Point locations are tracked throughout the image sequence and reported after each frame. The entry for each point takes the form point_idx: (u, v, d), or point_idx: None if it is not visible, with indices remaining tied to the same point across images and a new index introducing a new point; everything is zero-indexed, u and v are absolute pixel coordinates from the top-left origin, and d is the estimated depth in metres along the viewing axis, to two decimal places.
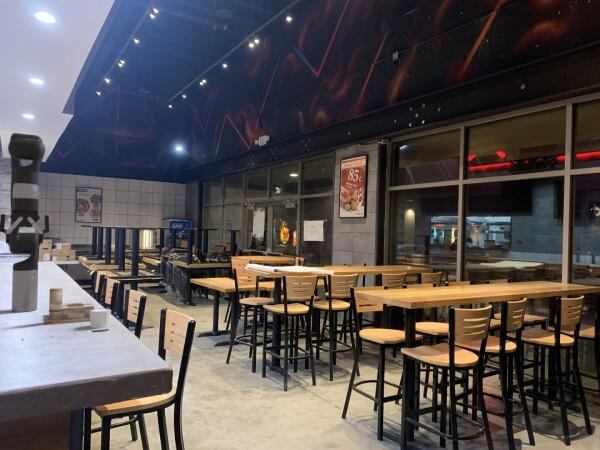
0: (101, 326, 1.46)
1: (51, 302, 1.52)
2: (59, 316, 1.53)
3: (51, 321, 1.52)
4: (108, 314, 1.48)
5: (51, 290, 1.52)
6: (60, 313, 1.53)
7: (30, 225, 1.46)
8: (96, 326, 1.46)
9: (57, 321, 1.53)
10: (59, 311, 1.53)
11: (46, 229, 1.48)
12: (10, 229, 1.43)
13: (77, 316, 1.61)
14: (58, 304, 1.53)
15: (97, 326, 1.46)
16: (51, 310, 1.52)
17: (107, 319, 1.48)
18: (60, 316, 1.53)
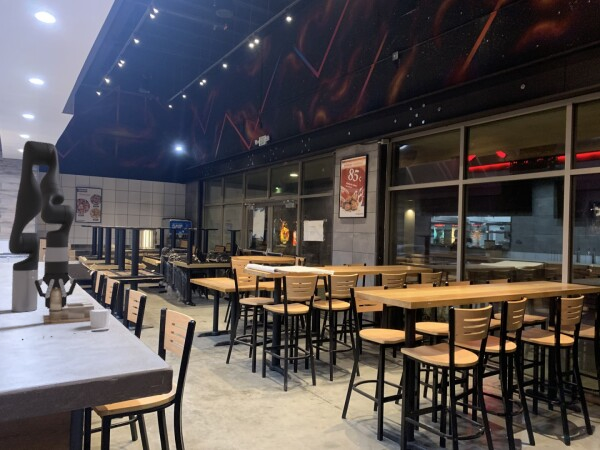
0: (101, 326, 1.46)
1: (51, 302, 1.52)
2: (59, 316, 1.53)
3: (51, 321, 1.52)
4: (108, 314, 1.48)
5: (51, 290, 1.52)
6: (60, 313, 1.53)
7: (58, 286, 1.53)
8: (96, 326, 1.46)
9: (57, 321, 1.53)
10: (59, 311, 1.53)
11: (69, 292, 1.55)
12: (48, 293, 1.52)
13: (77, 316, 1.61)
14: (58, 304, 1.53)
15: (97, 326, 1.46)
16: (51, 310, 1.52)
17: (107, 319, 1.48)
18: (60, 316, 1.53)
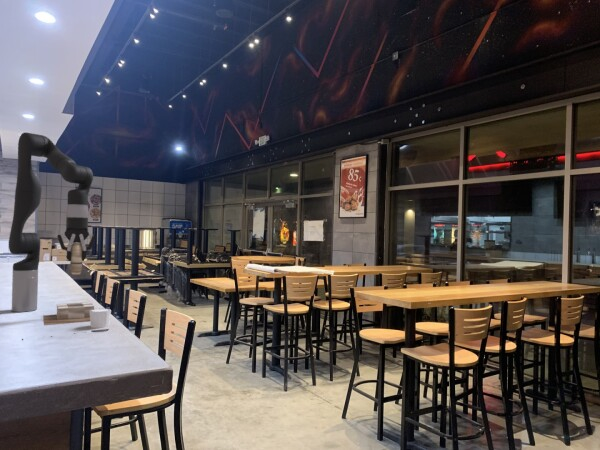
0: (101, 326, 1.46)
1: (72, 255, 1.64)
2: (79, 268, 1.65)
3: (72, 273, 1.65)
4: (108, 314, 1.48)
5: (72, 244, 1.65)
6: (80, 266, 1.66)
7: (79, 240, 1.66)
8: (96, 326, 1.46)
9: (78, 273, 1.65)
10: (80, 264, 1.65)
11: (89, 246, 1.68)
12: (69, 246, 1.64)
13: (77, 316, 1.61)
14: (79, 257, 1.65)
15: (97, 326, 1.46)
16: (72, 262, 1.64)
17: (107, 319, 1.48)
18: (80, 268, 1.66)
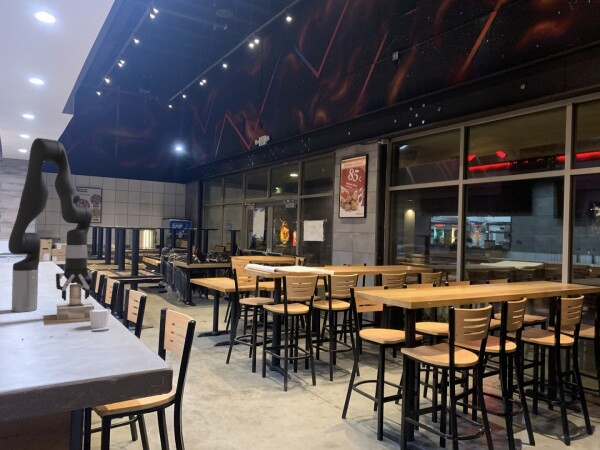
0: (101, 326, 1.46)
1: (71, 297, 1.64)
2: None
3: None
4: (108, 314, 1.48)
5: (71, 286, 1.64)
6: None
7: (79, 281, 1.66)
8: (96, 326, 1.46)
9: None
10: (78, 305, 1.65)
11: (92, 285, 1.68)
12: (65, 286, 1.63)
13: (77, 316, 1.61)
14: (78, 299, 1.65)
15: (97, 326, 1.46)
16: (71, 304, 1.64)
17: (107, 319, 1.48)
18: None
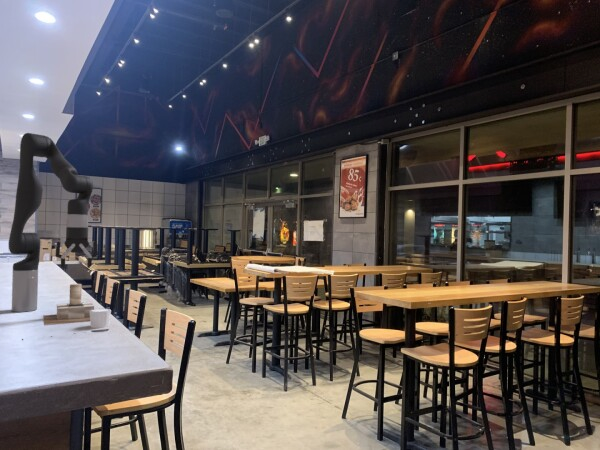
0: (101, 326, 1.46)
1: (71, 297, 1.64)
2: None
3: None
4: (108, 314, 1.48)
5: (71, 286, 1.64)
6: None
7: (81, 250, 1.66)
8: (96, 326, 1.46)
9: None
10: (78, 305, 1.65)
11: (94, 254, 1.69)
12: (64, 254, 1.63)
13: (77, 316, 1.61)
14: (78, 299, 1.65)
15: (97, 326, 1.46)
16: (71, 304, 1.64)
17: (107, 319, 1.48)
18: None
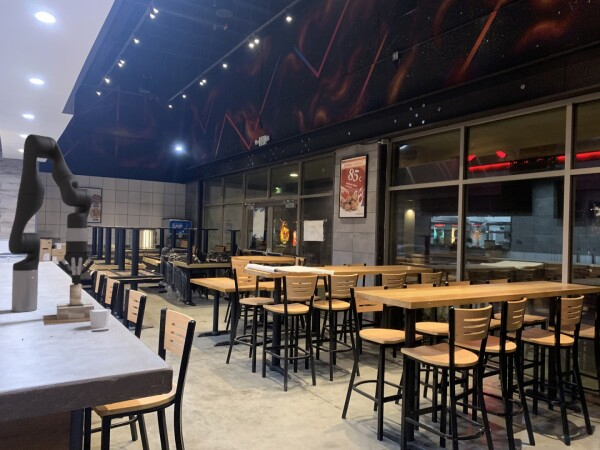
0: (101, 326, 1.46)
1: (71, 297, 1.64)
2: None
3: None
4: (108, 314, 1.48)
5: (71, 286, 1.64)
6: None
7: (76, 263, 1.65)
8: (96, 326, 1.46)
9: None
10: (78, 305, 1.65)
11: (83, 270, 1.66)
12: (73, 270, 1.65)
13: (77, 316, 1.61)
14: (78, 299, 1.65)
15: (97, 326, 1.46)
16: (71, 304, 1.64)
17: (107, 319, 1.48)
18: None
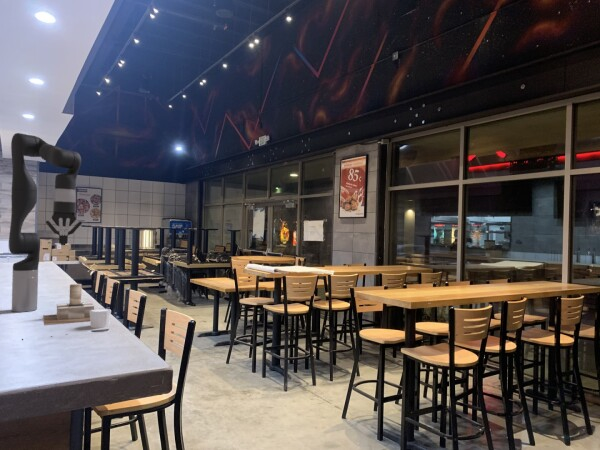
0: (101, 326, 1.46)
1: (71, 297, 1.64)
2: None
3: None
4: (108, 314, 1.48)
5: (71, 286, 1.64)
6: None
7: (64, 224, 1.67)
8: (96, 326, 1.46)
9: None
10: (78, 305, 1.65)
11: (70, 231, 1.68)
12: (61, 231, 1.66)
13: (77, 316, 1.61)
14: (78, 299, 1.65)
15: (97, 326, 1.46)
16: (71, 304, 1.64)
17: (107, 319, 1.48)
18: None
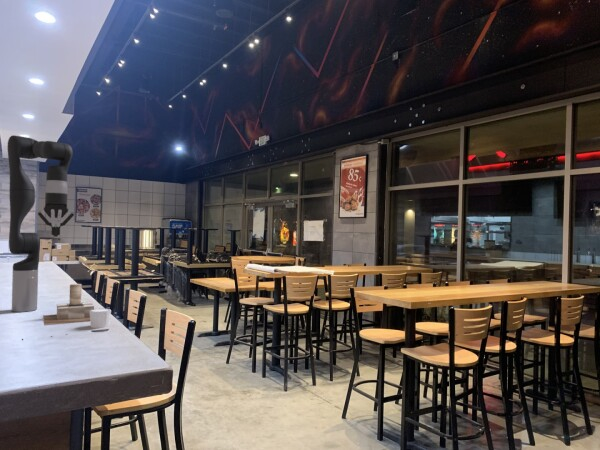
0: (101, 326, 1.46)
1: (71, 297, 1.64)
2: None
3: None
4: (108, 314, 1.48)
5: (71, 286, 1.64)
6: None
7: (56, 215, 1.68)
8: (96, 326, 1.46)
9: None
10: (78, 305, 1.65)
11: (62, 222, 1.69)
12: (53, 222, 1.67)
13: (77, 316, 1.61)
14: (78, 299, 1.65)
15: (97, 326, 1.46)
16: (71, 304, 1.64)
17: (107, 319, 1.48)
18: None
